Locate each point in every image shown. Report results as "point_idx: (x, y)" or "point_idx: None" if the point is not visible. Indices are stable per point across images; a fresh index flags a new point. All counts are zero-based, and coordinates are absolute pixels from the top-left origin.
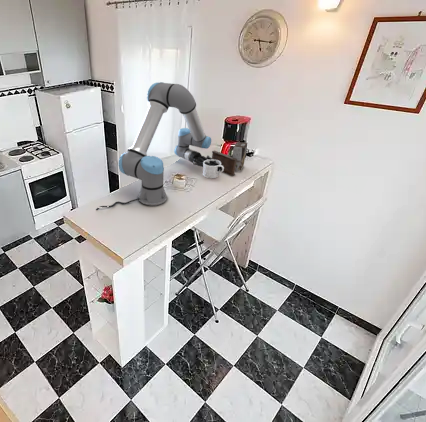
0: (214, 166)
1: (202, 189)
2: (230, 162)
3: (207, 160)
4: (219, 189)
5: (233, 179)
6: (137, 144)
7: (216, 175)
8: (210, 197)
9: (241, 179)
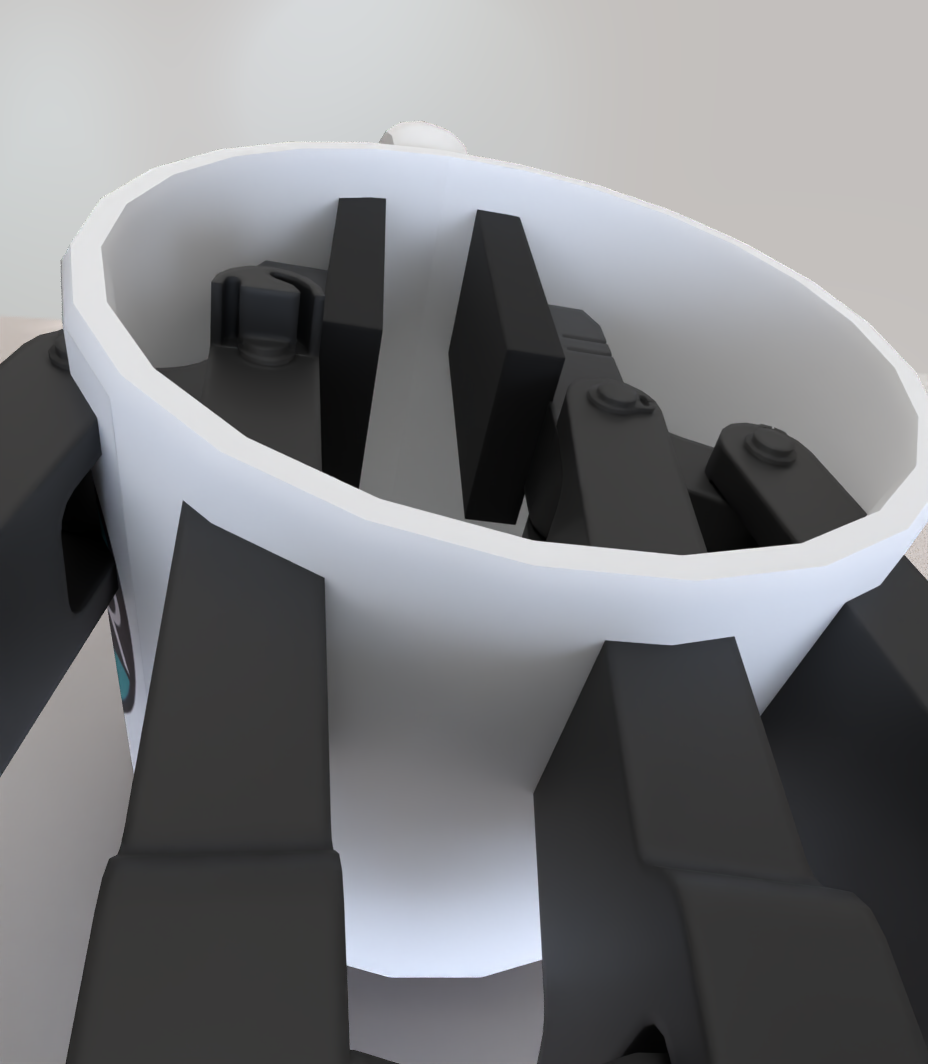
0: (645, 213)
1: (913, 542)
2: None
3: (489, 551)
4: None
5: None
6: None
7: (456, 478)
8: None
9: (13, 331)
